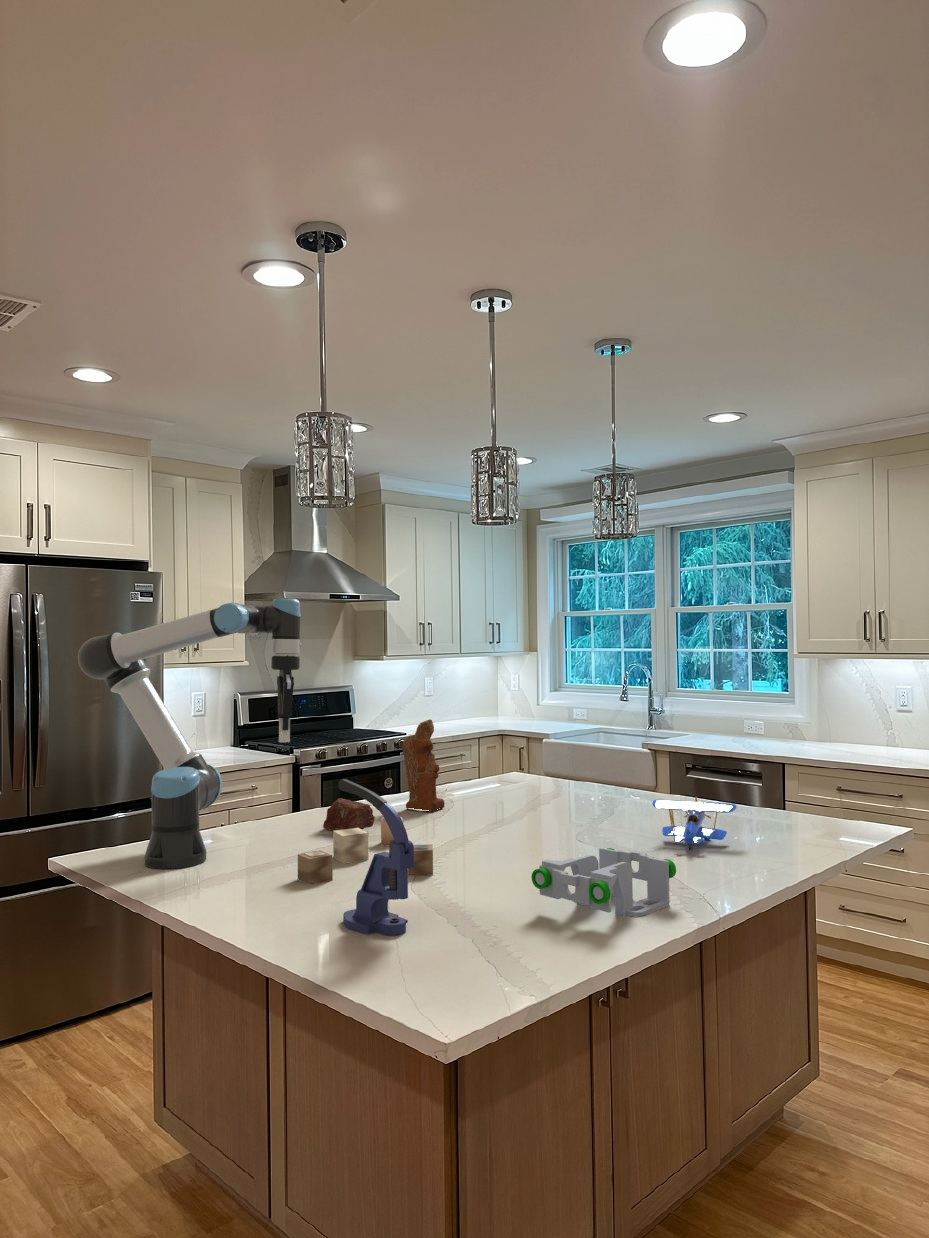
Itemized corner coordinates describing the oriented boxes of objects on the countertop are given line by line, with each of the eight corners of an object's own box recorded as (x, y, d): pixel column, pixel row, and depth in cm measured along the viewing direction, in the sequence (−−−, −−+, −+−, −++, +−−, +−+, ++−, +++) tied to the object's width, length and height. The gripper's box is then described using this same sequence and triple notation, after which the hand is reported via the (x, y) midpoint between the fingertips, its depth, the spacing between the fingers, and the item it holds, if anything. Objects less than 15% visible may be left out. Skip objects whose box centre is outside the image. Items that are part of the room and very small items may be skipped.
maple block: (342, 863, 219) (342, 835, 219) (333, 857, 225) (333, 830, 225) (368, 860, 222) (368, 832, 223) (358, 854, 229) (358, 827, 229)
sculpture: (448, 808, 289) (447, 719, 290) (433, 813, 282) (432, 721, 283) (416, 805, 296) (415, 717, 297) (400, 809, 289) (400, 719, 290)
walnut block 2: (408, 875, 207) (407, 849, 207) (408, 869, 213) (408, 844, 213) (433, 875, 207) (432, 849, 207) (432, 868, 213) (432, 843, 213)
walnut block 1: (309, 885, 200) (309, 858, 200) (297, 879, 205) (297, 853, 205) (332, 880, 204) (332, 854, 204) (320, 875, 208) (320, 849, 208)
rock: (376, 833, 254) (376, 802, 254) (361, 837, 249) (362, 805, 249) (332, 825, 265) (332, 795, 265) (316, 829, 259) (317, 798, 260)
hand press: (423, 929, 167) (422, 784, 168) (391, 942, 161) (390, 791, 162) (357, 911, 180) (356, 776, 180) (324, 922, 173) (323, 781, 174)
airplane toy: (724, 882, 223) (731, 837, 219) (638, 861, 230) (644, 817, 226) (731, 835, 246) (738, 793, 242) (653, 817, 253) (658, 776, 249)
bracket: (531, 911, 178) (531, 862, 178) (604, 886, 196) (603, 842, 196) (606, 932, 165) (605, 879, 165) (676, 903, 182) (675, 856, 183)
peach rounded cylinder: (384, 846, 237) (384, 820, 237) (378, 842, 242) (378, 816, 242) (405, 844, 239) (405, 818, 239) (398, 839, 245) (398, 815, 245)
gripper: (303, 655, 231) (302, 744, 230) (295, 654, 243) (293, 738, 242) (275, 655, 228) (274, 745, 227) (268, 654, 240) (266, 739, 240)
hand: (284, 741), depth 235 cm, fingers closed
